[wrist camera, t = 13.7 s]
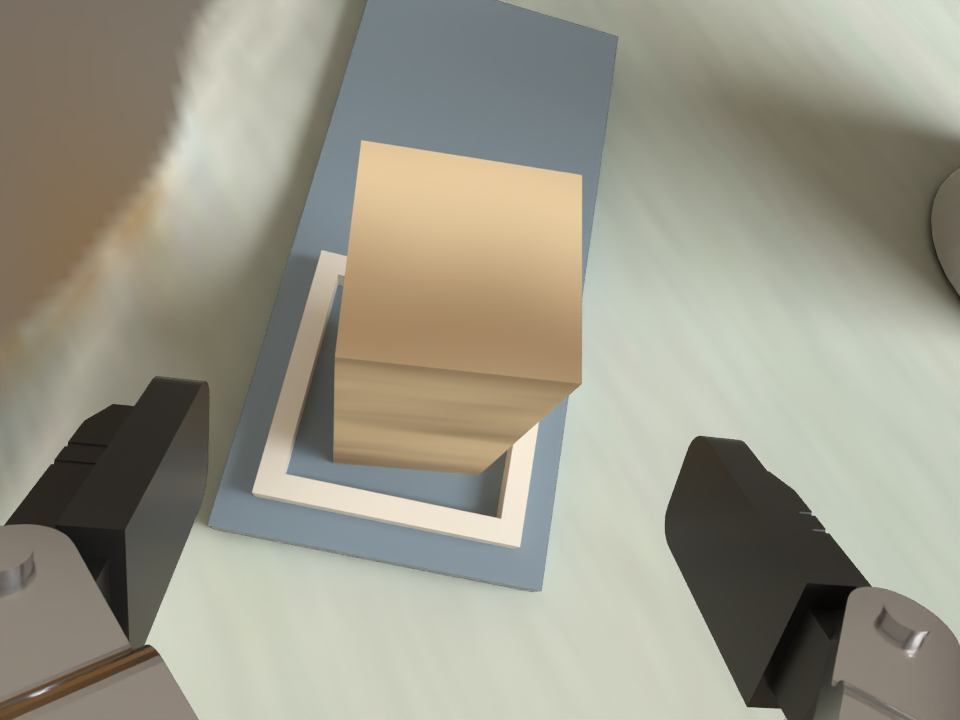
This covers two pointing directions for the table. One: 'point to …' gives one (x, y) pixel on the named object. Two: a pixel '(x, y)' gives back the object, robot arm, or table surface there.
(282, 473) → the building board
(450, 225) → the wooden pillar
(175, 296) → the table surface
